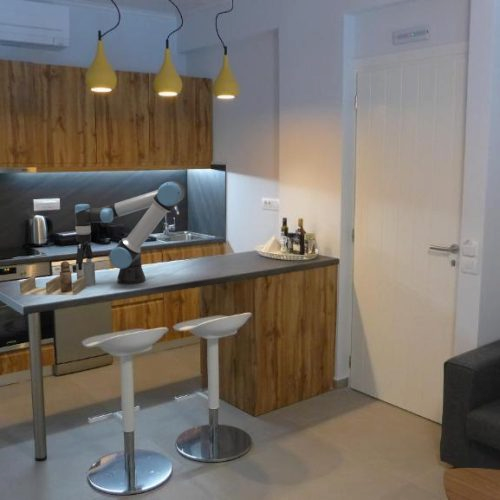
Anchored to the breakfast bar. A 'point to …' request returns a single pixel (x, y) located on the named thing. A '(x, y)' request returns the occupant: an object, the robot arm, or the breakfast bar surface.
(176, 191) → the robot arm
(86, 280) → the grey notched block
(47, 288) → the rack
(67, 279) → the pepper mill
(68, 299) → the breakfast bar surface
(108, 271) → the breakfast bar surface
